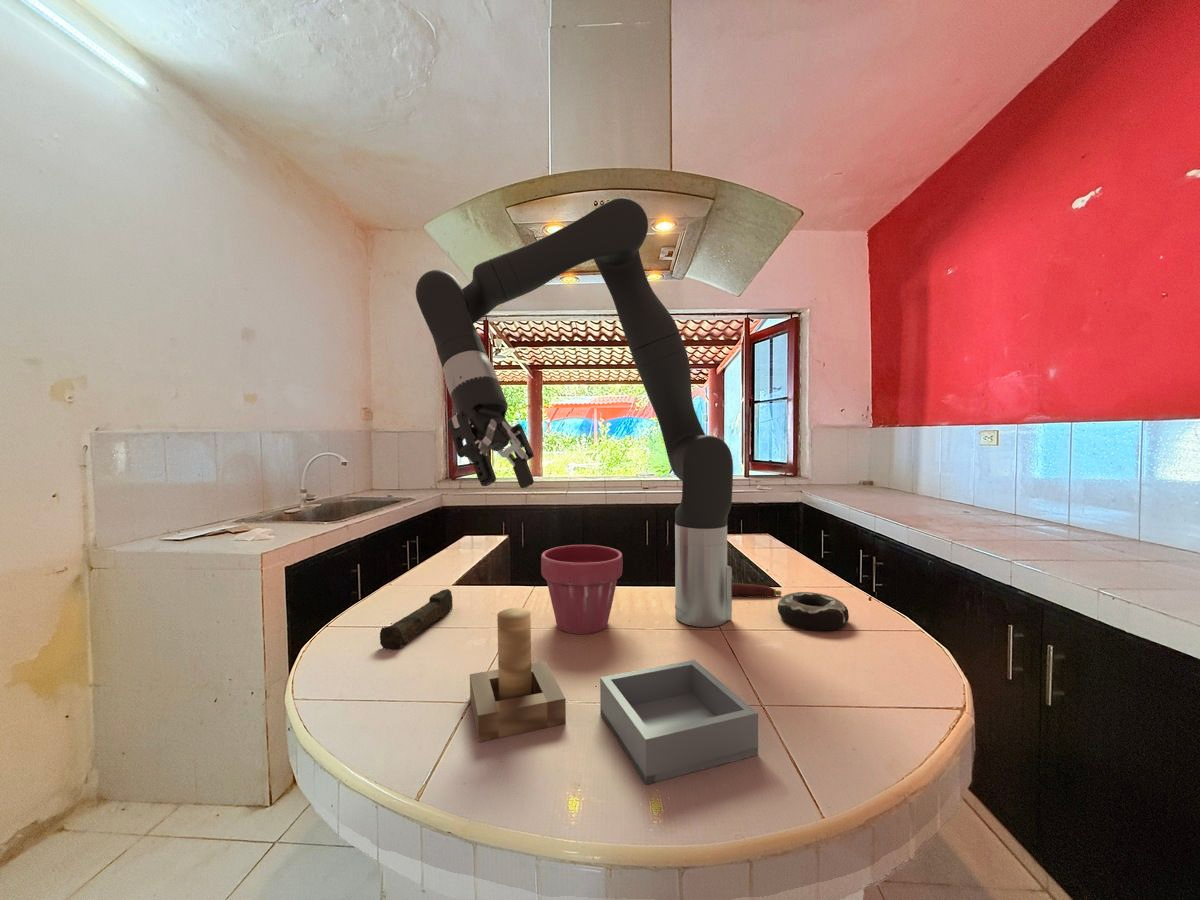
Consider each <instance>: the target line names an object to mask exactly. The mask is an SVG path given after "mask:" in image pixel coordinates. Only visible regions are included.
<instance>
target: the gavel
mask: <svg viewBox="0 0 1200 900" xmlns="http://www.w3.org/2000/svg"><path fill="white" fill-rule="evenodd" d="M732 595H733V596H735V597H746V596H761V597H760V598H768V597H767V596H772V597H776V596H781V595H782V591H781V590H779V589H778V590H777V589H776V588H773V587H770V586H768V585H764V584H751V583H737V582H732ZM733 596H732V597H733ZM762 596H764V597H762ZM765 596H766V597H765Z"/></svg>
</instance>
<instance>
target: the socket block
mask: <svg viewBox="0 0 1200 900" xmlns="http://www.w3.org/2000/svg"><path fill="white" fill-rule="evenodd" d="M531 676H532V695H528V696H523V697H517V698H512V699H507V700H501V701H499V677H498V669H492V670H487V671H481V672H476V673H475V672H473V673H470V674H469V698H470V702H471V704H470V705H471V708H472V714H473V721H474V723H475V725H474V726H475V730H476V735H477V741H478V743H481V742H486V741H491V740H494V739H499V738H503V737H504V738H505V737H509V736H515V735H518V734H522V733H523V734H524V733H527V732H533V731H537V730H542V729H546V728H550V727H551V728H552V727H556V726H561V725H565V724H566V723H567V719H566V717H567V715H566V714H567V713H566V704H567V703H566V700H567V699H566V697H565V695H564V692H563V691H562V689H561V688H560V686H559V684H558V682H557V680H556V678H555V677H554V674H553V673H552V671H551V669H550V667H549V665H548V664H547V662H546V661H541V662H535V663H531ZM541 728H542V729H541Z"/></svg>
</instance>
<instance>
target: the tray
mask: <svg viewBox="0 0 1200 900" xmlns="http://www.w3.org/2000/svg"><path fill="white" fill-rule="evenodd" d="M599 680H600V681H599V685H600V686H599V687H600V688H599V692H600V696H599V698H600V702H599V703H600V711H599V712H600V715H601V717H602V718H603V720H604V721H605V723H606V725H607V726H608V728H609V729H610V732H611V733H612V732H613V733H612V734H613V736H614V737H615V739H616V741H617V742H618V744H619V745H620V747H621V748H622V750H623V752H624V753H625V755H626V757H627V758H628V760H629V761H630V763H631V764H632V765H633V767H634V768H635V770H636V772H637V774H638V775H639V777H640V778H641V780H642V781H643V783H644V784H645V785H646V786H647V785H651V784H654V783H658V782H661V781H666V780H669V779H673V778H677V777H680V776H684V775H687V774H691V773H695V772H699V771H702V770H706V769H710V768H713V767H716V766H717V767H718V766H720V765H724V764H725V765H726V764H729V763H731V762H736V761H739V760H743V759H747V758H750V757H754V756H755V757H756V756H758V755H759V712H758V711H756V709H754V708H753V707H752V706H751V705H749V703H747V702H746V701H745V700H743V699H742V698H741V697H740V696H739V695H737V693H735V692H734V691H733V690H731V689H730V688H729V687H728V686H726V684H724V683H723V682H722V681H720V680H719V679H718V678H717V677H716V676H715V675H713V674H712V673H711V672H710V671H709V670H708V669H706V668H705V667H704V666H703V665H702V664H700V663H699V662H698V661H697V660H696V659H692V660H691V659H690V660H687V661H681V662H676V663H670V664H665V665H658V666H654V667H648V668H643V669H638V670H633V671H626V672H622V673H615V674H611V675H605V676H600V677H599Z"/></svg>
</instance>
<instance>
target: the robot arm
mask: <svg viewBox="0 0 1200 900" xmlns="http://www.w3.org/2000/svg"><path fill="white" fill-rule="evenodd" d="M648 231H649V221H648V216H647V213H646V212H645V209H644V208H643V207H642V206H641V205H640V204H639V203H638V202H637V201H635V200H633V199H631V198H627V197H616V198H615V197H614V198H612V199H610V200H607V201H606V202H604V203H603V204H601V205H599V206H598V207H596V208H594V209H593V210H591V211H590V212H588V213H587V214H585V215H584V216H582V217H580V218H578V219H576V220H575V221H573V222H571V223H570V224H567V225H566V226H564V227H562V228H560V229H557V230H556V231H555V232H552V233H550V234H548V235H546V236H543V237H541V238H539V239H537V240H535V241H533V242H530V243H528V244H524V245H522V246H520V247H519V248H516V249H513V250H510V251H507V252H505V253H502V254H499V255H497V256H494V257H493V258H489V259H488V260H485V261H482V262H481V263H478V264H476V265H475V266H474V268H473V269H472V280H471V281H470V283H468V284H467V285H466V286H464V287H463V288H462V285H460V283H459V281H458V279H456V277H455V276H453V275H452V274H451V273H449V272H447V271H445V270H440V269H433V270H430V271H426V272H425V273H424V274H422V275H421V277H420V278H419V279H418V281H417V282H416V286H415V298H416V302H417V304H418V306H419V309H420V311H421V314H422V317H423V319H424V321H425V322H426V325H427V328H428V330H429V331H430V334H431V336H432V339H433V342H434V345H435V348H436V353H437V356H438V359H439V362H440V365H441V367H442V370H443V375H444V380H445V384H446V388H447V390H448V394H449V397H450V399H451V402H452V404H453V408H454V411H455V415H454V416H452V417H450V418H449V419H448V420H447V423H448V427H449V429H450V434H451V437H452V441H453V445H454V447H455V448H454V449H455V452H456V455H457V456H458V457H459V458H464V457H465V458H467V460H468V461H469V462H470V463H472V466H473V469H474V471H475V474H476V477H477V480H478V481H479V483H480V485H481V486H482V487H489V486H490V485H492V484H494V483H495V482H496V480H497V477H496V474H495V471H494V468H493V466H492V462H491V459H490V457H489V455H487V453H488V450H492V451H494V452H497V454H499V455H500V456H501V457H502V458H506V459H507V461H509V463H510V464H511V465H512V470H513V472H514V474H515V477H516V481H517V482H518V486H519V487H520V488H521V489H526V488H528V487H530V486H531V485H533V484H534V481H535V480H534V478H533V477H534V476H533V474H532V471H531V469H530V466H529V463H528V461H529V460H531V459H533V458H534V457H535V454H534V451H533V449H532V447H531V445H530V443H529V439H528V438H527V436H526V433H525V430H524V429H523V426H522V425H521V424H520V423H516V424H515V425H513V426H512V425H511V424H509V422H508V420H507V419H506V414H507V410H508V407H509V405H508V401H507V399H506V397H505V394H504V391H503V389H502V386H501V384H500V380H499V378H498V375H497V373H496V370H495V368H494V366H493V364H492V362H491V360H490V359H489V357H488V354H487V350H486V349H485V346H484V344H483V341H482V339H481V336H480V334H479V333H478V331H477V328H476V327H475V325H474V324H475V323H477V322H478V321H480V319H482V318H483V317H484V316H486V315H488V314H489V313H490V312H491V311H492V310H494V309H496V307H498V306H500V305H502V304H504V303H507V302H508V303H509V302H510V301H513V300H515V299H517V298H519V297H521V296H524V295H527V294H529V293H531V292H533V291H535V290H537V289H539V288H540V287H542V286H544V285H546V284H547V283H549V282H550V281H553V280H554V279H555V278H557V277H558V276H560V275H562V274H564V273H565V272H567V271H569V270H571V269H573V268H575V267H577V266H580V265H581V264H583V263H586V262H589V261H591V260H593V261H594V262H595V265H596V267H597V270H598V271H599V273H600V274H601V277H602V279H603V281H604V283H605V284H606V287H607V289H608V291H609V293H610V295H611V298H612V301H613V304H614V306H615V310H616V313H617V316H618V319H619V323H620V325H621V328H622V331H623V334H624V336H625V340H626V342H627V344H628V349H629V352H630V354H631V357H632V360H633V362H634V365H635V368H636V371H637V373H638V375H639V376H640V380H641V381H642V384H643V387H644V389H645V391H646V394H647V397H648V400H649V402H650V404H651V407H652V408H653V410H654V414H655V416H656V418H657V421H658V425H659V427H660V428H659V429H660V431H661V435H662V436H661V437H662V439H663V443H664V447H665V450H666V455H667V458H668V462H669V466H670V468H671V471H672V472H673V474H674V475H675V476H676V478H678V479H679V480H680V481H681V482H682V485H681V501H680V504H679V505H678V506H677V507H676V508H675V512H674V517H675V518H674V519H675V520H674V539H675V540H674V541H675V542H674V544H675V545H674V549H675V550H674V553H675V554H674V555H675V556H674V559H675V562H674V563H675V566H674V567H675V568H674V570H675V571H674V575H675V576H674V579H675V582H674V583H675V586H674V587H675V589H674V590H675V592H674V594H675V597H674V598H675V602H674V603H675V604H674V608H675V612H674V613H675V619H677V620H678V622H680V623H683V624H685V625H689V626H693V627H698V628H699V627H700V628H701V627H702V628H708V627H709V628H710V627H711V628H712V627H718V626H721V625H723V624H726V622H727V621H731V620H733V596H732V583H733V574H732V573H733V569H732V566H729V565H728V515H729V514H730V511H731V508H732V501H733V482H734V481H733V479H734V478H733V477H734V461H733V455H732V452H731V449H730V447H729V445H728V444H727V443H726V442H725V441H724V440H722V438H720V437H718V436H714V435H710V434H709V435H706V433H705V432H704V429H703V427H702V425H701V422H700V421H699V418H698V415H697V412H696V410H695V407H694V402H693V395H692V376H691V374H692V373H691V366H690V364H691V363H690V360H689V359H690V358H689V355H688V352H687V349H686V346H685V343H684V340H683V338H682V335H681V333H680V329H679V327H678V325H677V324H676V321H675V320H674V319H675V318H673V316H672V314H671V313H670V312H669V311H668V308H666V307H665V305H664V304H663V302H662V301H661V299H659V298H658V296H657V295H656V293H655V292H654V290H653V288H652V287H651V285H650V282H649V280H648V277H647V275H646V272H645V269H644V266H643V262H642V259H641V254H640V249H641V247H642V246H643V244H644V242H645V240H646V238H647V234H648ZM464 440H465V443H466V444H464ZM509 443H510V445H509ZM508 445H509V446H508ZM507 446H508V447H507ZM513 454H514V455H513Z"/></svg>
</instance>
